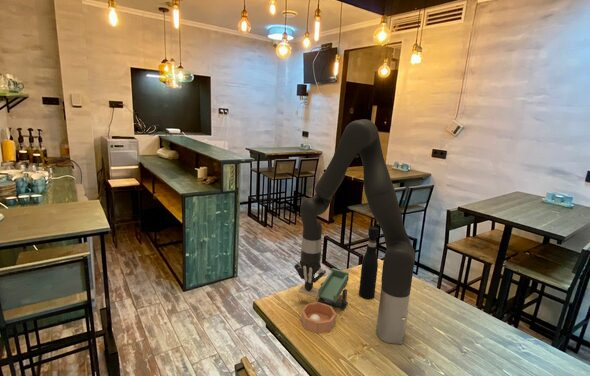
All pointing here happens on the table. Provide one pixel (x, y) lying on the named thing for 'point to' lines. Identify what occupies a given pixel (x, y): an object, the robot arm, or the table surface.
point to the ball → (315, 317)
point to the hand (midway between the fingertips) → (308, 289)
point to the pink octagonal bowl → (323, 312)
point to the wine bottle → (369, 267)
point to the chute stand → (339, 303)
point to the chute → (329, 286)
